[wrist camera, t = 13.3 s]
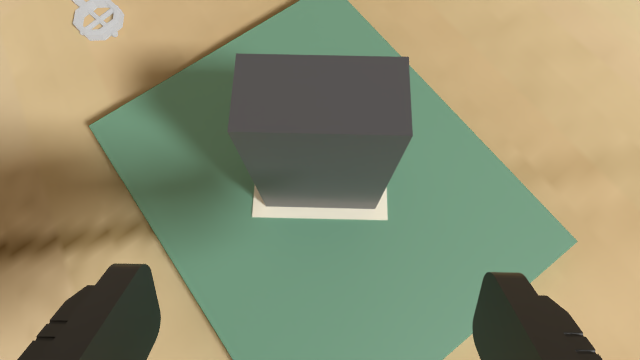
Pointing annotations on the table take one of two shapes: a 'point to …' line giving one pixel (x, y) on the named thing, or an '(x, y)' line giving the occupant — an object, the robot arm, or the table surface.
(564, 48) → the table surface
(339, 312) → the header board
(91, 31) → the key
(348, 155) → the block
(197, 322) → the table surface
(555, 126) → the table surface
